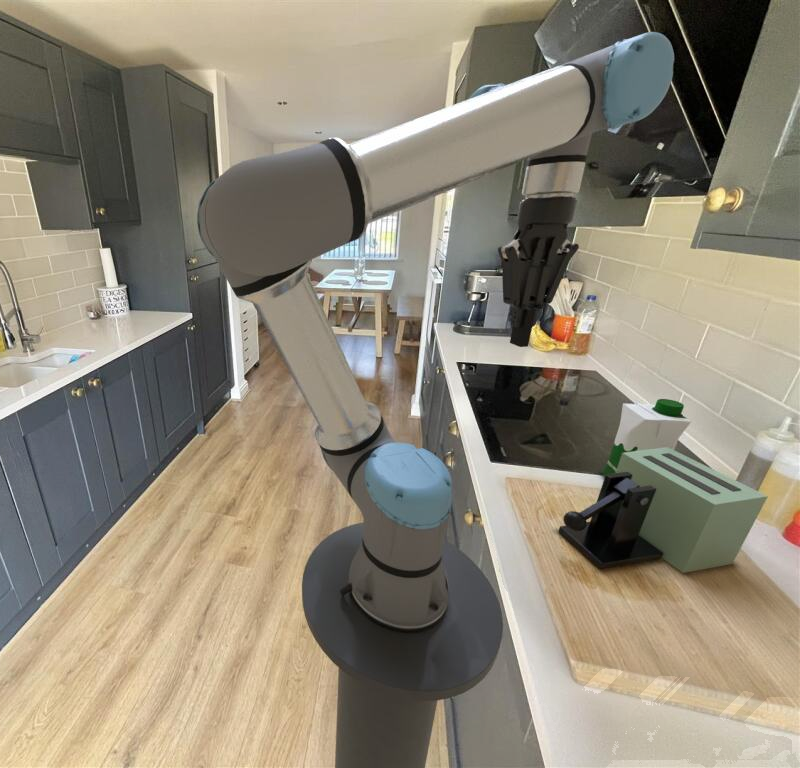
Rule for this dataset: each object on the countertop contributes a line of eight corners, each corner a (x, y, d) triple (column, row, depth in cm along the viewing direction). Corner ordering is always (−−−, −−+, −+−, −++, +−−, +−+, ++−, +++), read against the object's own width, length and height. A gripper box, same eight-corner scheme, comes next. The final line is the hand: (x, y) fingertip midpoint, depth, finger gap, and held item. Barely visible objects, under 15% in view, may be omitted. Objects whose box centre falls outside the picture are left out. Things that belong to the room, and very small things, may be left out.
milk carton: (666, 499, 82) (701, 413, 75) (617, 495, 84) (647, 410, 76) (639, 474, 90) (668, 394, 83) (594, 471, 92) (620, 392, 84)
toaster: (682, 573, 65) (715, 503, 60) (601, 512, 79) (622, 451, 74) (732, 564, 67) (768, 495, 61) (644, 506, 80) (667, 446, 75)
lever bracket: (600, 570, 66) (624, 503, 61) (558, 532, 74) (576, 470, 69) (661, 559, 68) (689, 493, 63) (613, 523, 76) (635, 462, 71)
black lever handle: (576, 538, 67) (572, 526, 65) (561, 525, 70) (556, 513, 68) (645, 498, 66) (642, 485, 64) (627, 486, 69) (623, 474, 67)
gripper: (566, 197, 65) (535, 336, 74) (494, 199, 63) (472, 341, 72) (607, 194, 58) (568, 348, 67) (528, 196, 56) (499, 353, 65)
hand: (518, 344), depth 70 cm, fingers closed
